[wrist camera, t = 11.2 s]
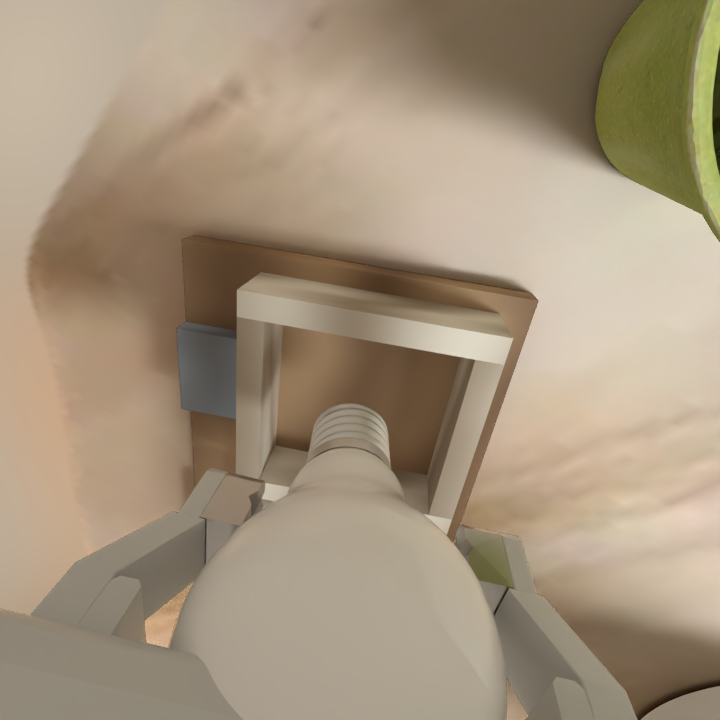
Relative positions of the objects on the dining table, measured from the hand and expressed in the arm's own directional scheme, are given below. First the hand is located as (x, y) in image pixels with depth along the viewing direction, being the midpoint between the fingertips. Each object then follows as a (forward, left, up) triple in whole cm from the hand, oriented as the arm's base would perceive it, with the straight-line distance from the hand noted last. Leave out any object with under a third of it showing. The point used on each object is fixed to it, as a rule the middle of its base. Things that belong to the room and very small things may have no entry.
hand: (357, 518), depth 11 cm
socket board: (+2, +6, -9) cm, 11 cm away
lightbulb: (+1, 0, -5) cm, 5 cm away
